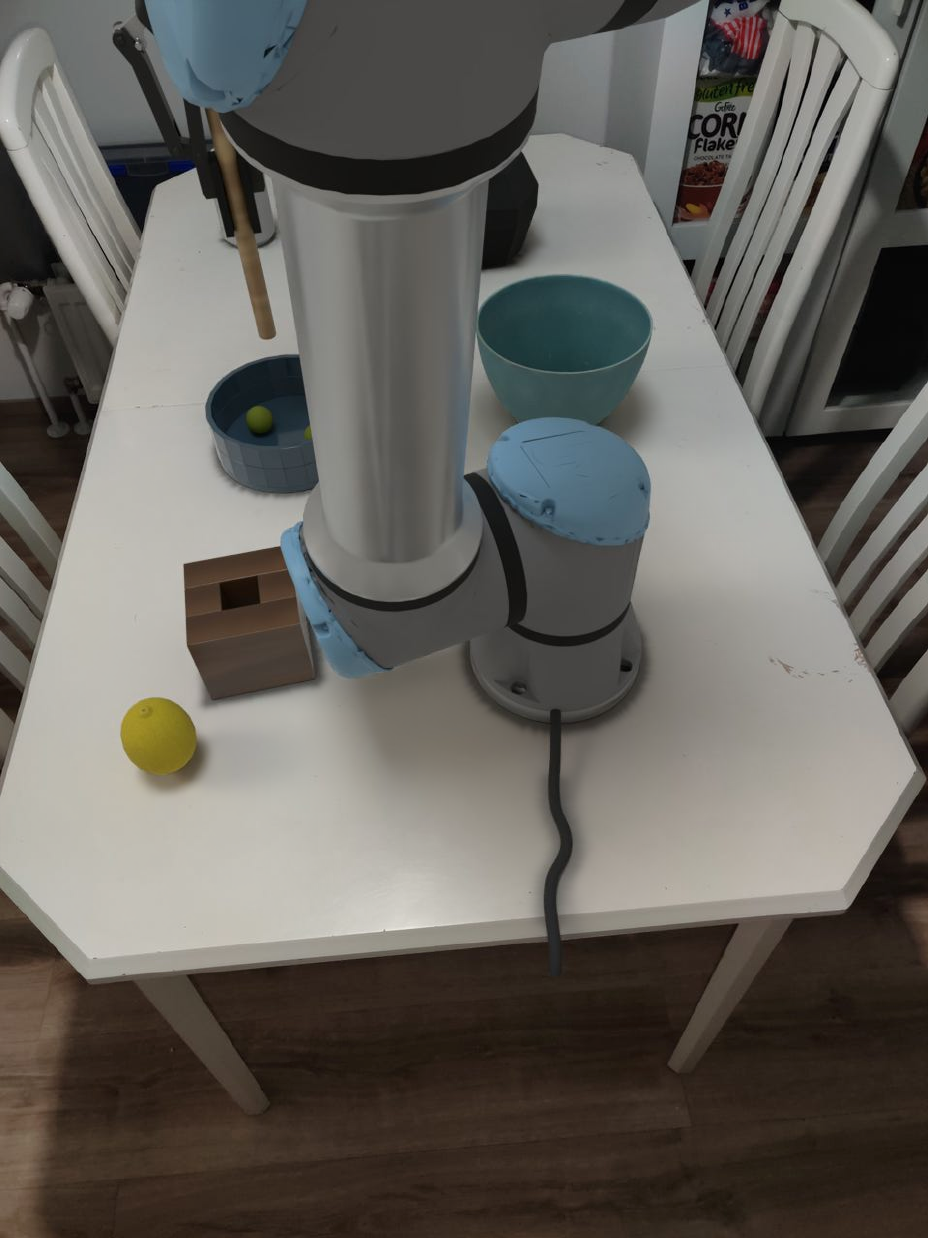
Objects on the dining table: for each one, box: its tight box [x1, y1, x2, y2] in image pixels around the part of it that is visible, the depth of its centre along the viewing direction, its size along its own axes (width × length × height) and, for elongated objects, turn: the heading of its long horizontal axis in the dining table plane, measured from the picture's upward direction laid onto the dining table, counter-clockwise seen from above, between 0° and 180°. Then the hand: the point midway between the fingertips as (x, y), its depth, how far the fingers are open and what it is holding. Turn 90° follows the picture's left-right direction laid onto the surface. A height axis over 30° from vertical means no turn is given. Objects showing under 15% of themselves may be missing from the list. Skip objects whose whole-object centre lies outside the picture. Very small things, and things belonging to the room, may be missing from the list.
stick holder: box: [182, 545, 316, 700], centre depth 76 cm, size 9×9×8 cm
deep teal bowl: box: [476, 273, 654, 426], centre depth 94 cm, size 18×18×12 cm
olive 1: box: [246, 406, 273, 434], centre depth 96 cm, size 3×3×3 cm
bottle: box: [481, 150, 540, 270], centre depth 110 cm, size 16×16×30 cm
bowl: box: [204, 353, 319, 494], centre depth 95 cm, size 16×16×6 cm
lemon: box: [119, 696, 198, 776], centre depth 69 cm, size 6×6×8 cm
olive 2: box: [304, 425, 312, 440], centre depth 94 cm, size 3×3×3 cm
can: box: [210, 147, 276, 248], centre depth 121 cm, size 8×8×12 cm
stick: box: [204, 108, 277, 341], centre depth 81 cm, size 2×2×22 cm
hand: (243, 227), depth 81 cm, fingers closed on stick, 2 cm apart
